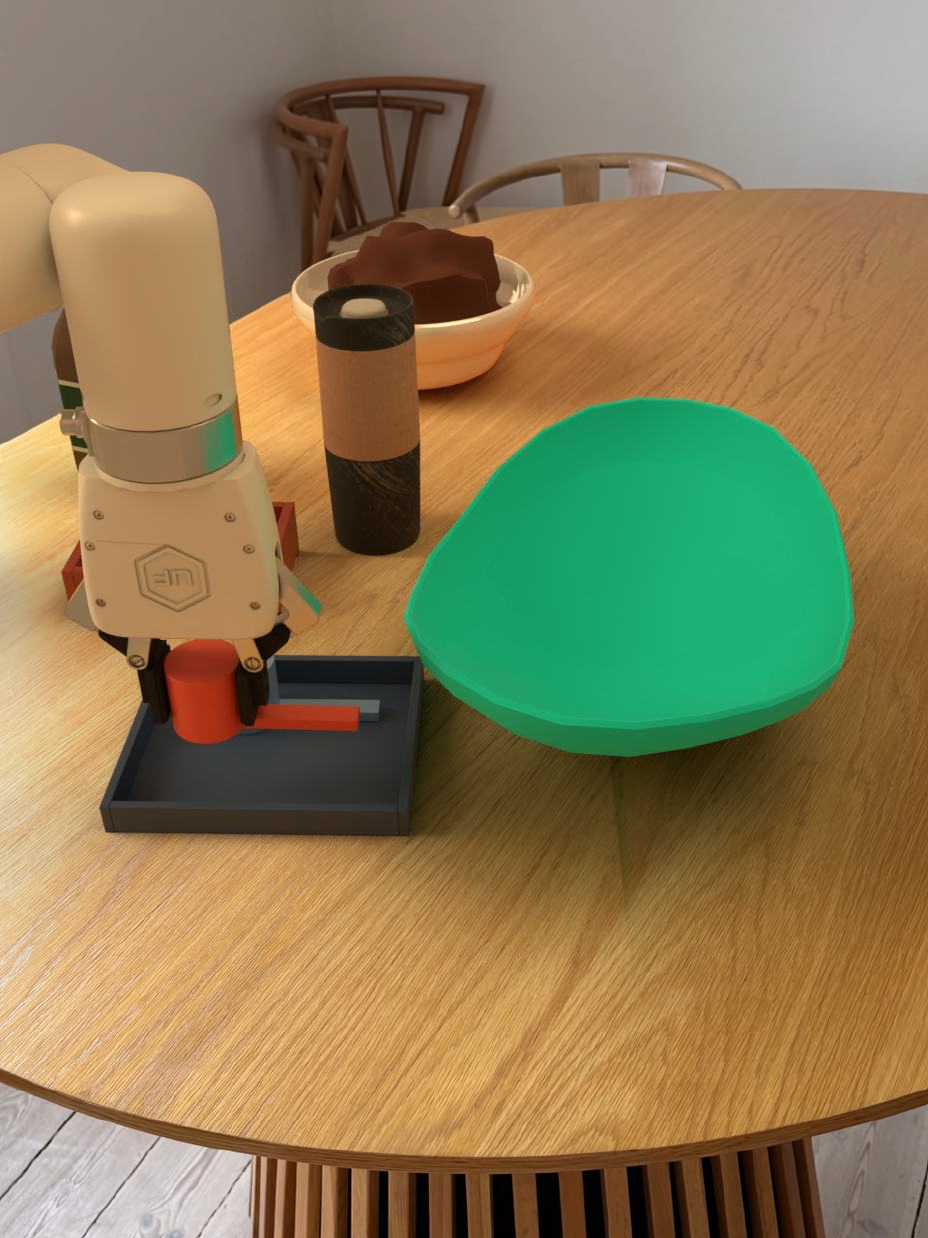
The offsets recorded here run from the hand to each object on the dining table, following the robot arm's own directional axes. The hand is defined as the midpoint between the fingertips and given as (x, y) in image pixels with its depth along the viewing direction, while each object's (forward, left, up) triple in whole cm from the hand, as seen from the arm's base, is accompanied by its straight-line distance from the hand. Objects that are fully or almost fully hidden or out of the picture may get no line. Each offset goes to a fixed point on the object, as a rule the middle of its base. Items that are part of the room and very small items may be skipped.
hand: (208, 708), depth 72 cm
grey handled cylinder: (+4, +7, -6) cm, 10 cm away
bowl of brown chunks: (+8, +65, -7) cm, 66 cm away
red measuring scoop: (+3, 0, -1) cm, 4 cm away
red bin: (-7, +23, -7) cm, 25 cm away
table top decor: (+26, +10, -7) cm, 28 cm away
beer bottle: (-17, +40, -7) cm, 44 cm away
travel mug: (+7, +31, -7) cm, 33 cm away
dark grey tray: (+3, +3, -7) cm, 8 cm away
